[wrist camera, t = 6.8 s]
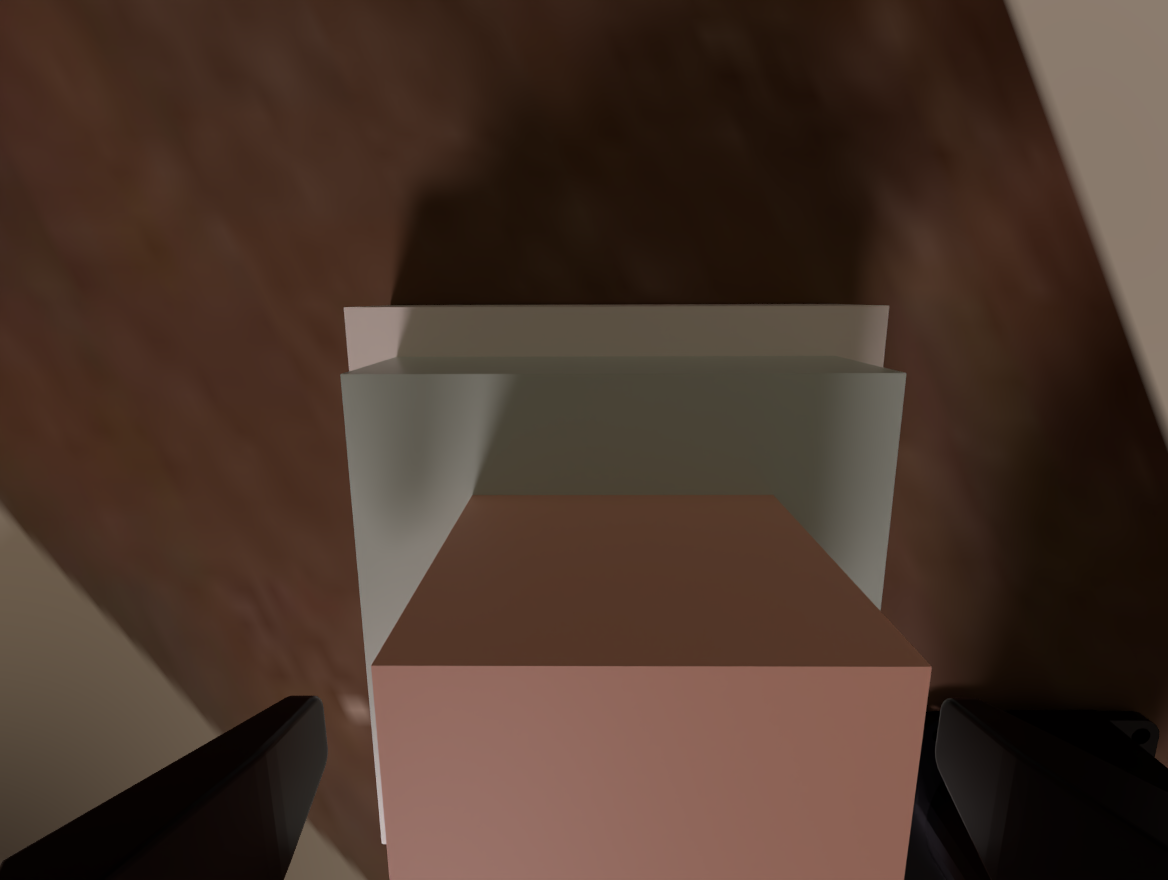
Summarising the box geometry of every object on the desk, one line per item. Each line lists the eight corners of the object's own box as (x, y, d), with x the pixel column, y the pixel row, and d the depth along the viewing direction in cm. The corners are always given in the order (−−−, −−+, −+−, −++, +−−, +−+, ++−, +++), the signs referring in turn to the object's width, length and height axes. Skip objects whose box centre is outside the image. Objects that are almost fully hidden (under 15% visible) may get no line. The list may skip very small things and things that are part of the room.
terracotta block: (756, 756, 12) (876, 1088, 7) (484, 754, 12) (407, 1083, 7) (773, 494, 11) (931, 667, 6) (472, 495, 11) (370, 665, 6)
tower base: (800, 697, 18) (901, 889, 12) (416, 696, 18) (334, 886, 12) (833, 303, 16) (978, 308, 10) (389, 304, 16) (271, 310, 10)
